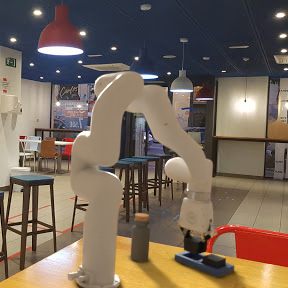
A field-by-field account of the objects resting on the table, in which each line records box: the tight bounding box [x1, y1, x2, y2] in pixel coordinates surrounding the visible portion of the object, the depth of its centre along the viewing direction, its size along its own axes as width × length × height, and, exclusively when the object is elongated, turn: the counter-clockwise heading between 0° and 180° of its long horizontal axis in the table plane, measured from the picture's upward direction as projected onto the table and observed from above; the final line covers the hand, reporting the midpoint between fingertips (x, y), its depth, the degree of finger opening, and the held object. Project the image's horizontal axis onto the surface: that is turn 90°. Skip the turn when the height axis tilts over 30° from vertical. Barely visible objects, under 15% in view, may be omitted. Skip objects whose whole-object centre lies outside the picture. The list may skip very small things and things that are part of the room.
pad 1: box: [183, 235, 202, 255], centre depth 125 cm, size 5×5×4 cm
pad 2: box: [203, 253, 227, 269], centre depth 120 cm, size 5×5×4 cm
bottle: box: [130, 212, 151, 263], centre depth 126 cm, size 6×6×15 cm
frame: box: [174, 250, 235, 279], centre depth 123 cm, size 9×16×2 cm, turn 37°
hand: (194, 249), depth 125 cm, fingers closed on pad 1, 5 cm apart
